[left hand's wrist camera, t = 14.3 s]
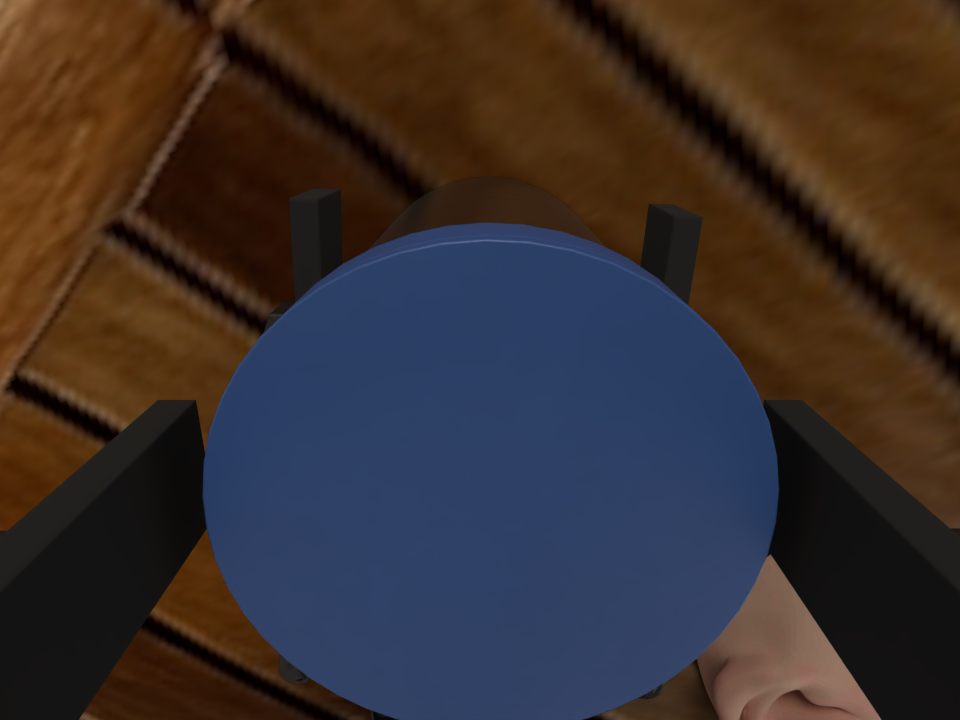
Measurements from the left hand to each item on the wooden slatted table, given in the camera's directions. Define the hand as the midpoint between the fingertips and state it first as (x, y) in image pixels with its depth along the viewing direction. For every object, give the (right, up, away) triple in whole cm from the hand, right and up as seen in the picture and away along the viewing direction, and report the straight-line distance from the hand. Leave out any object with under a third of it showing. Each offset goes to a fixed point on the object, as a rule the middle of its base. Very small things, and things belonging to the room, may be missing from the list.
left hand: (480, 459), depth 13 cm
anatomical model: (+16, -13, +19) cm, 28 cm away
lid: (0, -1, -2) cm, 2 cm away
